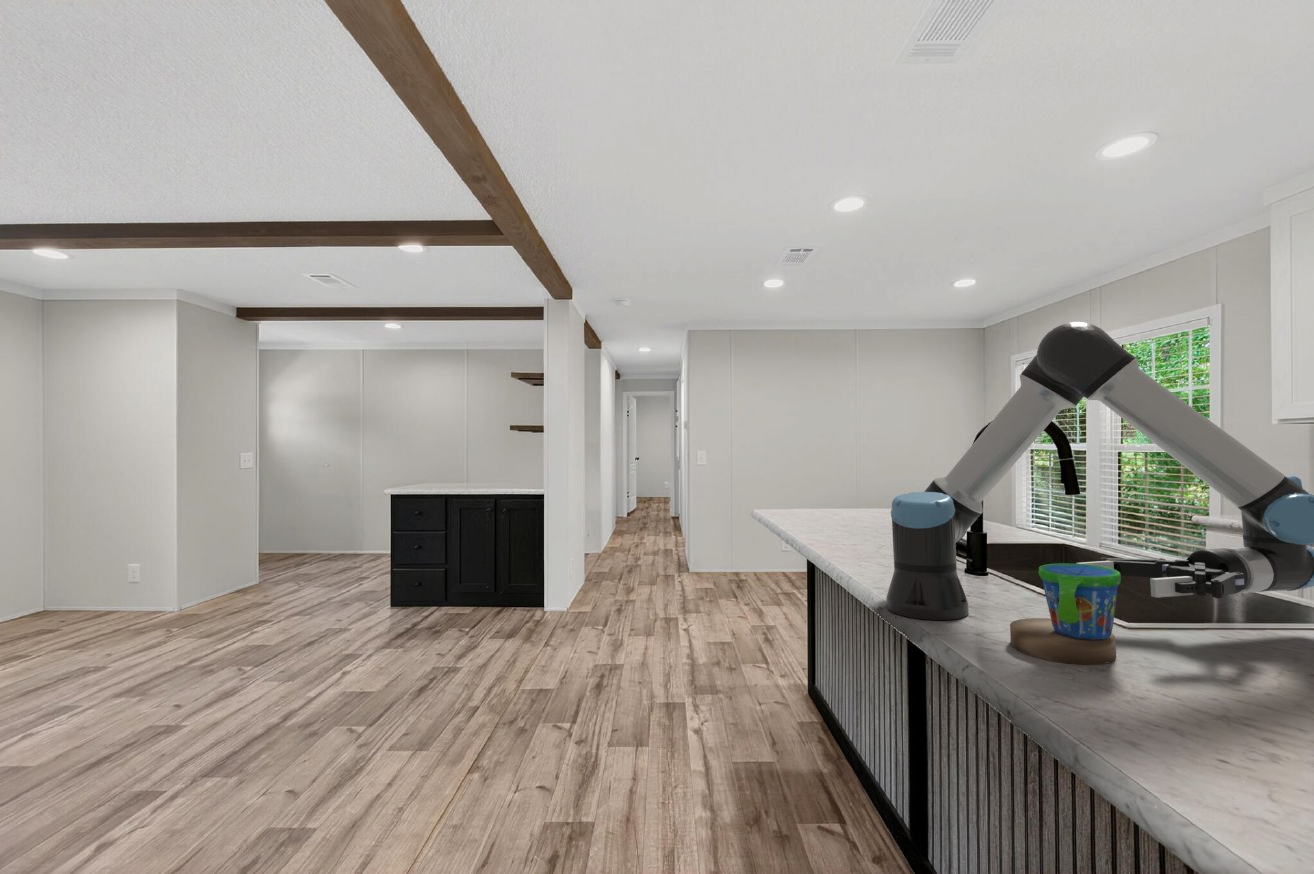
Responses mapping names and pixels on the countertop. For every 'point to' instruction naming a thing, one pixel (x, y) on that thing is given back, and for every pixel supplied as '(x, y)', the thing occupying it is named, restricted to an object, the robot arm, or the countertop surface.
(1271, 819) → the countertop surface
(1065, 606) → the snack cup
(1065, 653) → the walnut pedestal
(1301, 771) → the countertop surface
